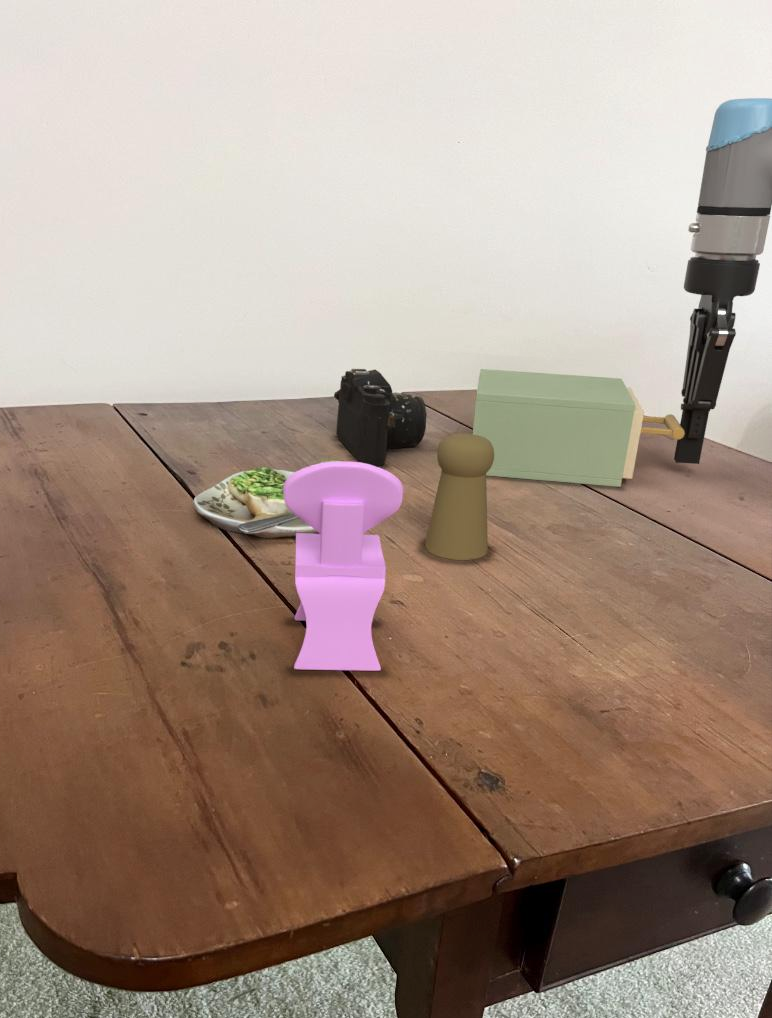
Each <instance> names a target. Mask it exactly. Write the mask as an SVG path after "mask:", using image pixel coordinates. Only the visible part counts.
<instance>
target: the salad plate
mask: <svg viewBox="0 0 772 1018" xmlns="http://www.w3.org/2000/svg"><path fill="white" fill-rule="evenodd" d="M334 461H343V462H346V461H345V460H341V459H327V460H322V461H321V462H318V463H317V464H319V463H325V462H334ZM295 472H296V471H290V470H285V469H284V470H283V469H276V468H272V467H269V466H267V467H265V466H263V467H261V468H250V469H249V470H242V471H240V472H236V473H234V474H231V475H229V476H228V477H226V478H225V479H223V480H221V481H220V482H218V483H217V484H215V485H213V486H211V488H208V489H205V490H204V491H202V492H200V493H199V494H197V495H196V496H195V497H194V498H193V508H194V509H195V510H196V511H197V513H198V514H199V515H201V517H203V518H205V519H206V520H208V521H209V522H210V523H211V524H213V525H214V526H215V527H217V528H219V529H222V530H224V531H228V532H231V533H232V532H234V533H239V534H245V535H250V536H255V537H259V538H265V539H274V538H288V537H289V538H290V537H296V533H310V534H319V533H318V532H317V531H316V530H315V529H314V528H312V527H311V526H309V525H308V524H306V523H304V522H303V521H301V519H300V518H299V517H297V516H296V515H295V514H293V513H292V512H291V511H290V510H289V509H288V508H287V506H286V504H285V501H284V496H283V486H284V483H285V481H286V480H287V478H288V477H289V476H290V475H292V474H293V473H295Z"/></svg>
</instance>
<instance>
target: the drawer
mask: <svg viewBox="0 0 772 1018" xmlns="http://www.w3.org/2000/svg"><path fill="white" fill-rule="evenodd" d="M626 388H627V390H628V392H629V394H630V395H631V397H632V399H633V401H634V403H635V410H634V415H633V421H632V427H631V432H630V438H629V443H628V449H627V455H626V460H625V466H624V471H623V477H622V479H629V480H630V479H631V480H632V479H633V477H634V470H635V464H636V461H637V454H638V449H639V442H640V439H641V434H647V435H648V434H650V435H651V434H652V435H662V436H671V437H672V438H673V440H676V441H677V440H678V439H681V438H683V437H684V434H685V432H684V430H683V428H682V427H681V425H680V422H679V420H678V419H677V418H676V416H675V415H674V414H671V413H670V414H667V415H665V416H664V417H663V416H651V415H650V416H649V415H645V411H644V409H643V408H642V406H641V404H640V402H639V400H638V398H637V397H636V395H635V392H633V390H632V387H627V386H626ZM643 423H657V424H664V425H665V427H666V428H659V427H647V426H646V427H645V426H643Z"/></svg>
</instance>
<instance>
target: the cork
mask: <svg viewBox="0 0 772 1018" xmlns="http://www.w3.org/2000/svg"><path fill="white" fill-rule="evenodd" d="M436 458H437V463H438V466H439V467H440V469H441V473H440V476H439V481H438V486H437V490H436V494H435V499H434V502H433V503H434V504H433V507H432V512H431V516H430V520H429V524H428V525H429V526H428V528H427V529H428V530H427V533H426V538H425V543H424V547H425V549H426V551H428V553H430V554H432V555H434V556H436V557H439V558H443V559H447V560H453V561H456V560H457V561H470V560H476V559H481V558H483V557H485V556H486V555H487V554H488V551H489V543H488V542H489V539H488V538H489V537H488V497H487V495H488V494H487V476H486V473H487V472H488V471H489V469H490V468H491V466H492V464H493V461H494V448H493V446H492V444H491V442H490V441H489V440H488V439H486V438H485V437H482V436H478V435H473V434H472V433H453V434H449V435H447V436H445V437H444V438H443V439H442V440H441V441H440V443H439V444H438V447H437V453H436Z"/></svg>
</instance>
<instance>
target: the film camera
mask: <svg viewBox="0 0 772 1018" xmlns="http://www.w3.org/2000/svg"><path fill="white" fill-rule="evenodd" d="M339 384H340V385H339V388H340V389H338V390H337V391H335V392H334V394H333V397H334V399H336V400H337V403H338V408H337V419H336V422H337V423H336V437H337V439H338V440H339V442H341V443H342V445H344V447H345V448H346V449H347V450H348V451H349V452H350V453H351V454H352V455H353V457H354V458H355V459H356V460H357V462H360V463H366V464H370V465H373V466H376V467H379V466H383V465H384V466H385V462H386V456H387V450H394V449H402V448H403V449H404V448H405V447H410V448H413V447H417V446H418V445H419V444H420V443H421V442H422V441H423V438H424V436H425V433H426V428H427V415H428V414H427V413H428V412H427V409H426V403H425V401H424V399H423V397H421V396H414V397H413V396H412V395H411V394H394V393H393V389H392V385H391V384H390V383H389V382H388V380H387V379H386V378H385V377H384V375H383V374H382V372H380V371H379V370H377V369H371V370H367V369H366V368H351V369H350V370H346V371H345V374H344V375H342V376H341V379H340V383H339Z"/></svg>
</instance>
